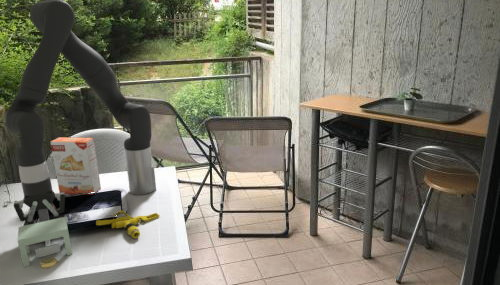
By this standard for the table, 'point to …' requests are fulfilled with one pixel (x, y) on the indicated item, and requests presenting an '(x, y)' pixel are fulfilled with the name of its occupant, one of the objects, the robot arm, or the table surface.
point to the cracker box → (76, 165)
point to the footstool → (42, 235)
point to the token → (48, 262)
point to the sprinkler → (128, 222)
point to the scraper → (48, 248)
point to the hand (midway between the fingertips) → (45, 228)
